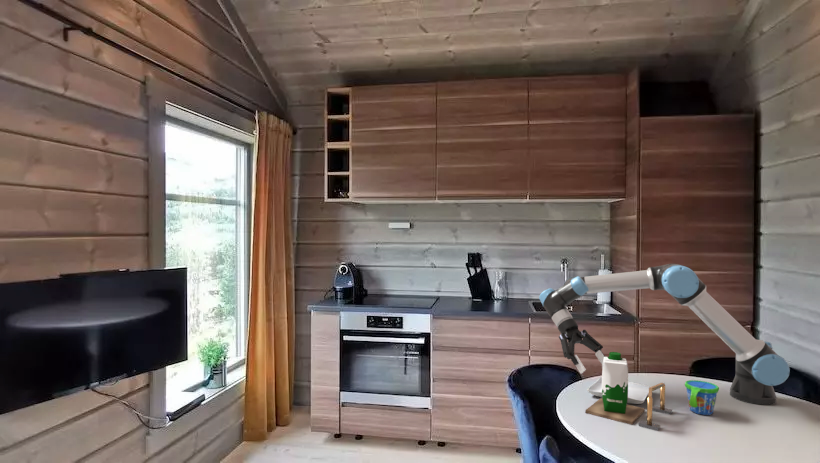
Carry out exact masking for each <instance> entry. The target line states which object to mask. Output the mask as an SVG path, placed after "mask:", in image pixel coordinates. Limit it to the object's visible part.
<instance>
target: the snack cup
mask: <svg viewBox="0 0 820 463" xmlns="http://www.w3.org/2000/svg"><path fill="white" fill-rule="evenodd" d="M684 386H685V388H686V395H687V402H688V408H689V411H691V412H693V413H695V414H697V415H702V416H710V415H712V414H714V410H715V405H716V400H717V394H718V393H719V390H720V388H719V386H718V385H717V384H715V383H712V382H708V381H704V380H695V379H691V380H687V381H685V383H684Z"/></svg>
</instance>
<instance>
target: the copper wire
mask: <svg viewBox="0 0 820 463" xmlns="http://www.w3.org/2000/svg"><path fill="white" fill-rule="evenodd" d="M658 389H659V391H660V392H659V395H660V396H659V406H658V405H653V400H654V399H653V392H654V391H655V390H658ZM646 399H647V401H646V402H647V403H646V404H647V405H646V421H645V420H640V421H639V422H638V427H641V428H646V429H650V430H653V431H656V432H657V431H658V432H659V430H660V428H661V425H660V424H657V423H653V412H656V413H661V414H666V415H670V416H671V415H672V414H673V409H671V408H666V384H665V382H660V383H658V384H655V385H652V387H650V388H649V394H648V396H647V397H646Z"/></svg>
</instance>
